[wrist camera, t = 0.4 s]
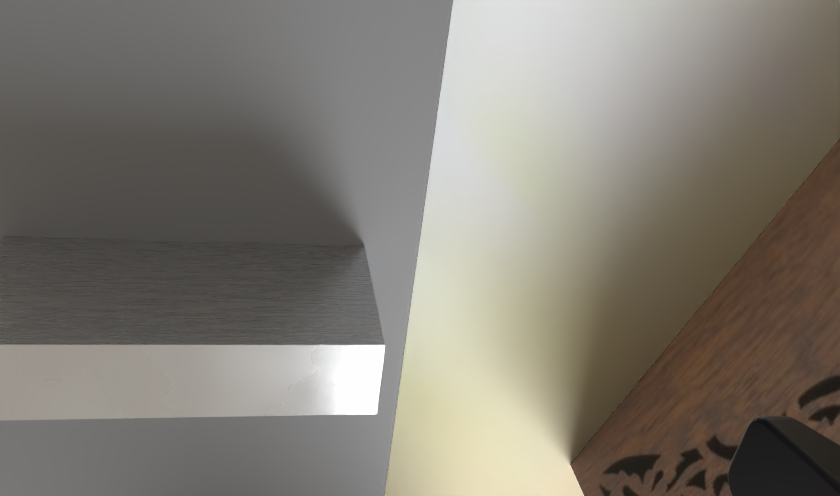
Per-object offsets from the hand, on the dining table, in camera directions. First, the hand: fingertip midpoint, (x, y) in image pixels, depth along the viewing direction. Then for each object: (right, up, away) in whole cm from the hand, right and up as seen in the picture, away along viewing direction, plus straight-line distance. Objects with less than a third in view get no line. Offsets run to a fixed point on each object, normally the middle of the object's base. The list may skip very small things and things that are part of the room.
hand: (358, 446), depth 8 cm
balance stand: (-6, +2, +14) cm, 15 cm away
